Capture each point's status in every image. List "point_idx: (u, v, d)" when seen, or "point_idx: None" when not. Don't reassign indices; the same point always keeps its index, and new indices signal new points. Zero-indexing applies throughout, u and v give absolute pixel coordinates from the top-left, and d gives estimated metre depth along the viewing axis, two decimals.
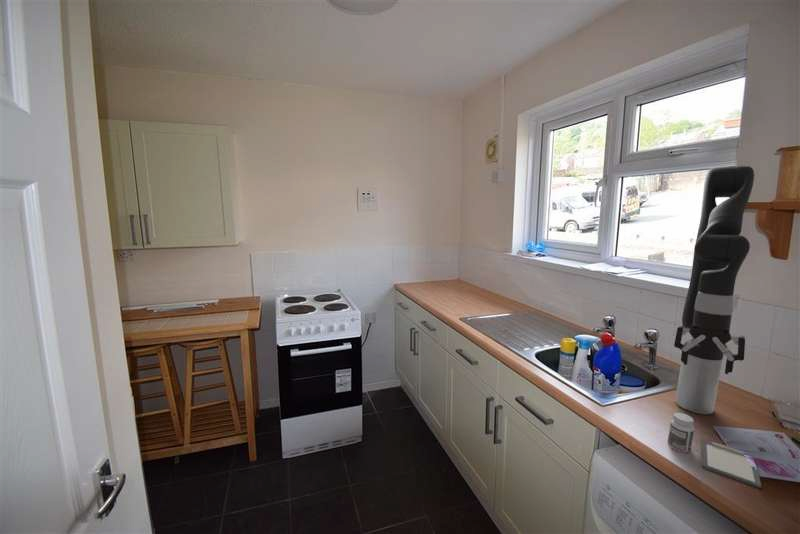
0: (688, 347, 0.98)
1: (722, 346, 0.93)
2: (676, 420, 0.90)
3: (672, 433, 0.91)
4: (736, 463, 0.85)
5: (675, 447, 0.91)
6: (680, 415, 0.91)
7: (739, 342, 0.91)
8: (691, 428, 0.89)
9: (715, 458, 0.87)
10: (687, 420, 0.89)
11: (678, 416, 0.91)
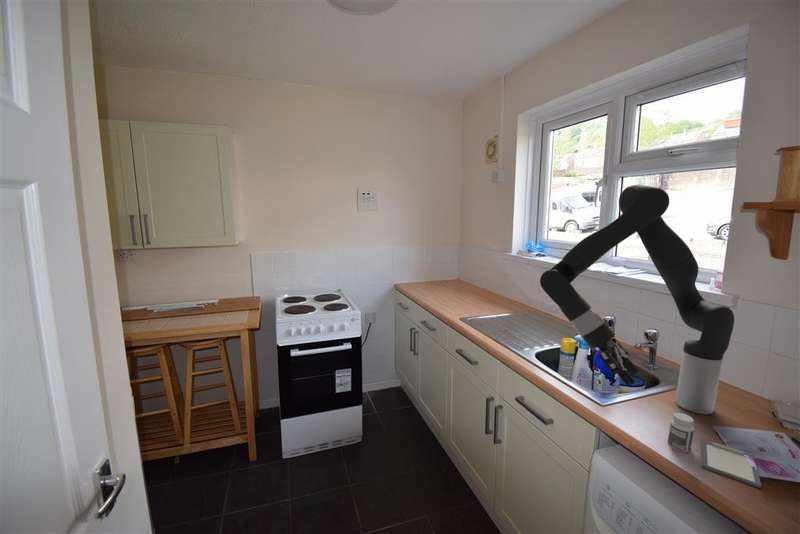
0: None
1: None
2: (676, 420, 0.90)
3: (672, 433, 0.91)
4: (736, 463, 0.85)
5: (675, 447, 0.91)
6: (680, 415, 0.91)
7: None
8: (691, 428, 0.89)
9: (715, 458, 0.87)
10: (687, 420, 0.89)
11: (678, 416, 0.91)
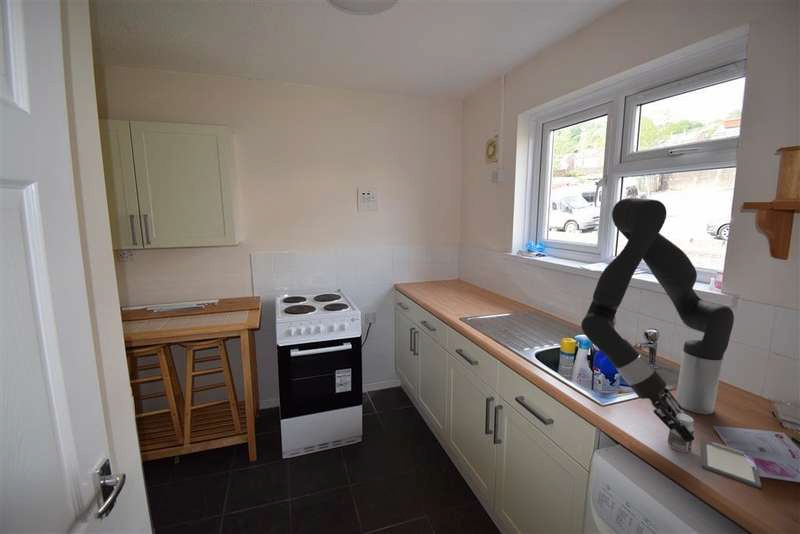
0: None
1: None
2: None
3: (672, 433, 0.91)
4: (736, 463, 0.85)
5: (675, 447, 0.91)
6: (680, 415, 0.91)
7: None
8: (691, 428, 0.89)
9: (715, 458, 0.87)
10: (687, 420, 0.89)
11: (678, 415, 0.91)
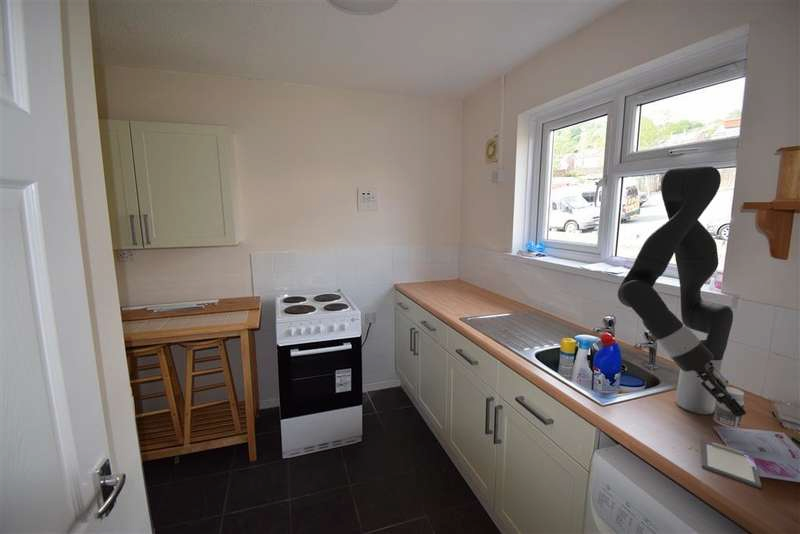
0: None
1: None
2: None
3: (720, 407, 0.85)
4: (736, 463, 0.85)
5: (723, 423, 0.84)
6: (728, 388, 0.85)
7: None
8: (741, 402, 0.82)
9: (715, 458, 0.87)
10: (737, 393, 0.83)
11: None
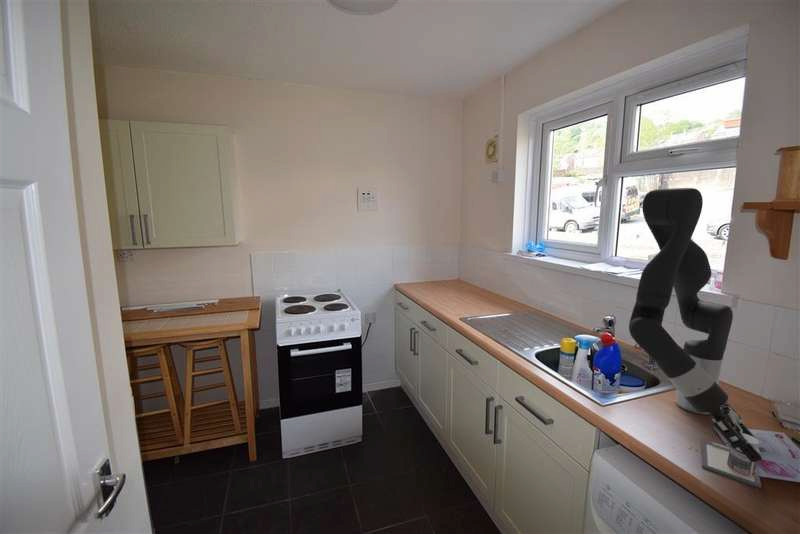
0: None
1: None
2: None
3: (733, 455, 0.82)
4: None
5: (737, 472, 0.82)
6: None
7: None
8: None
9: (715, 458, 0.87)
10: (751, 442, 0.80)
11: None
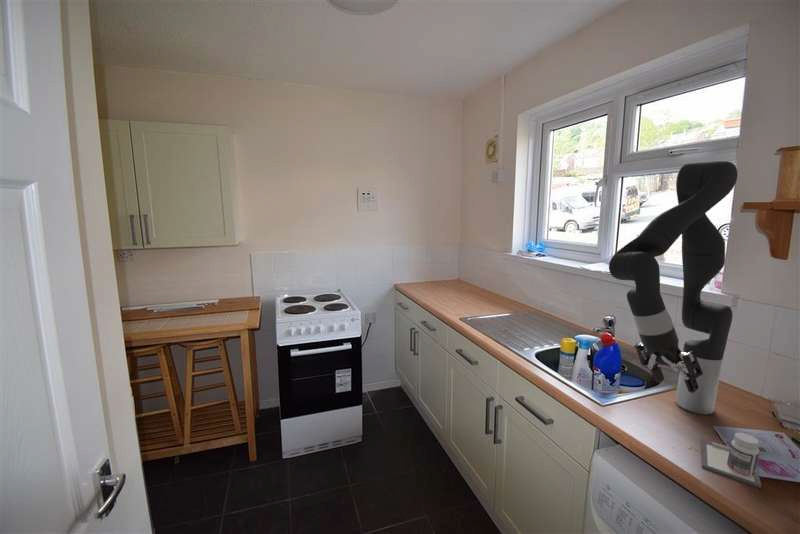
0: (651, 365, 0.93)
1: (672, 365, 0.86)
2: (738, 441, 0.81)
3: (733, 455, 0.82)
4: None
5: (737, 472, 0.82)
6: (742, 435, 0.82)
7: (684, 360, 0.83)
8: (756, 451, 0.80)
9: (715, 458, 0.87)
10: (751, 441, 0.80)
11: (740, 436, 0.82)
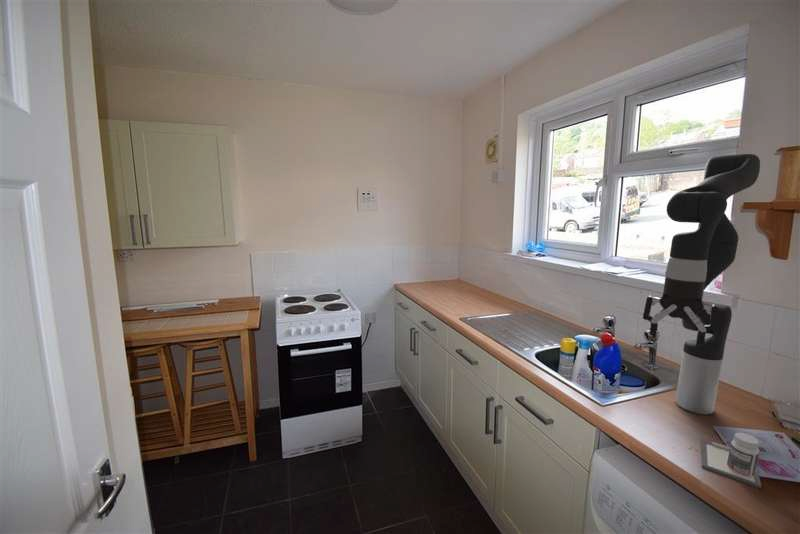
0: (658, 318, 0.89)
1: (694, 316, 0.84)
2: (738, 441, 0.81)
3: (733, 455, 0.82)
4: None
5: (737, 472, 0.82)
6: (742, 435, 0.82)
7: (712, 311, 0.82)
8: (756, 451, 0.80)
9: (715, 458, 0.87)
10: (751, 442, 0.80)
11: (740, 436, 0.82)
